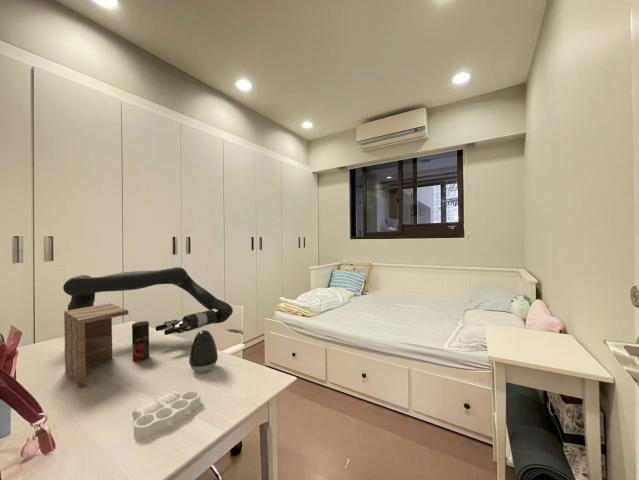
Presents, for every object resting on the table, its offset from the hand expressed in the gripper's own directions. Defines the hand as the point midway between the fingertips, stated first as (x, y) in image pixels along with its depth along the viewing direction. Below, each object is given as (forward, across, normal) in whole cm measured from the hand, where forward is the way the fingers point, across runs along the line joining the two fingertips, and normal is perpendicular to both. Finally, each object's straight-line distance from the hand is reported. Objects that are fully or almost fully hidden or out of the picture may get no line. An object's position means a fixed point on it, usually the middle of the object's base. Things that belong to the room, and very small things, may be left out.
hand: (160, 330), depth 119 cm
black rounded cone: (-2, +31, +10) cm, 32 cm away
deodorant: (+8, 0, +10) cm, 13 cm away
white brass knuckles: (+19, +47, +10) cm, 51 cm away
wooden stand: (+22, -2, +10) cm, 24 cm away
